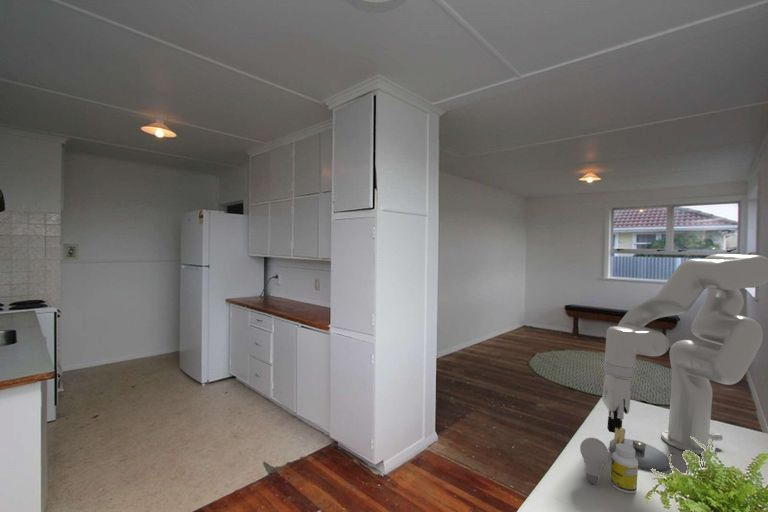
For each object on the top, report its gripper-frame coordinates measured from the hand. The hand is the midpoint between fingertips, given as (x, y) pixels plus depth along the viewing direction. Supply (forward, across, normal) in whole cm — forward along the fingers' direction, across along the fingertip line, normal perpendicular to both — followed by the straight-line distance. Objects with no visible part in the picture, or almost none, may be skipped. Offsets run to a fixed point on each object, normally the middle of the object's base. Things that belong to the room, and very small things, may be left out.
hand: (614, 431), depth 106 cm
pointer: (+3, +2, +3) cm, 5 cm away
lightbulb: (+5, +21, -9) cm, 24 cm away
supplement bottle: (+5, +20, -2) cm, 20 cm away
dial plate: (+5, +2, +6) cm, 8 cm away
